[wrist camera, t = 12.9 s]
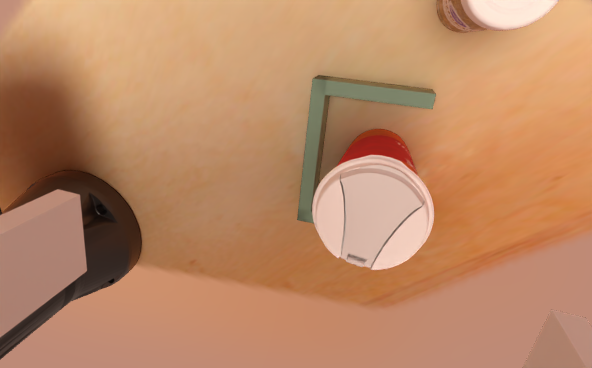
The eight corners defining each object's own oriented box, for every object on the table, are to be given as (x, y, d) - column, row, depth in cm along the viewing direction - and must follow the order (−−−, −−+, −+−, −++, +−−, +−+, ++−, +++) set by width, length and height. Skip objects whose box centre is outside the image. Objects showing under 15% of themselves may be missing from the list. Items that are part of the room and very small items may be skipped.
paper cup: (403, 205, 37) (409, 293, 24) (328, 181, 38) (296, 253, 25) (433, 129, 34) (458, 184, 21) (350, 105, 35) (326, 144, 22)
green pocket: (303, 207, 40) (297, 220, 37) (318, 75, 35) (312, 78, 32) (401, 226, 38) (402, 240, 35) (432, 89, 33) (436, 94, 30)
